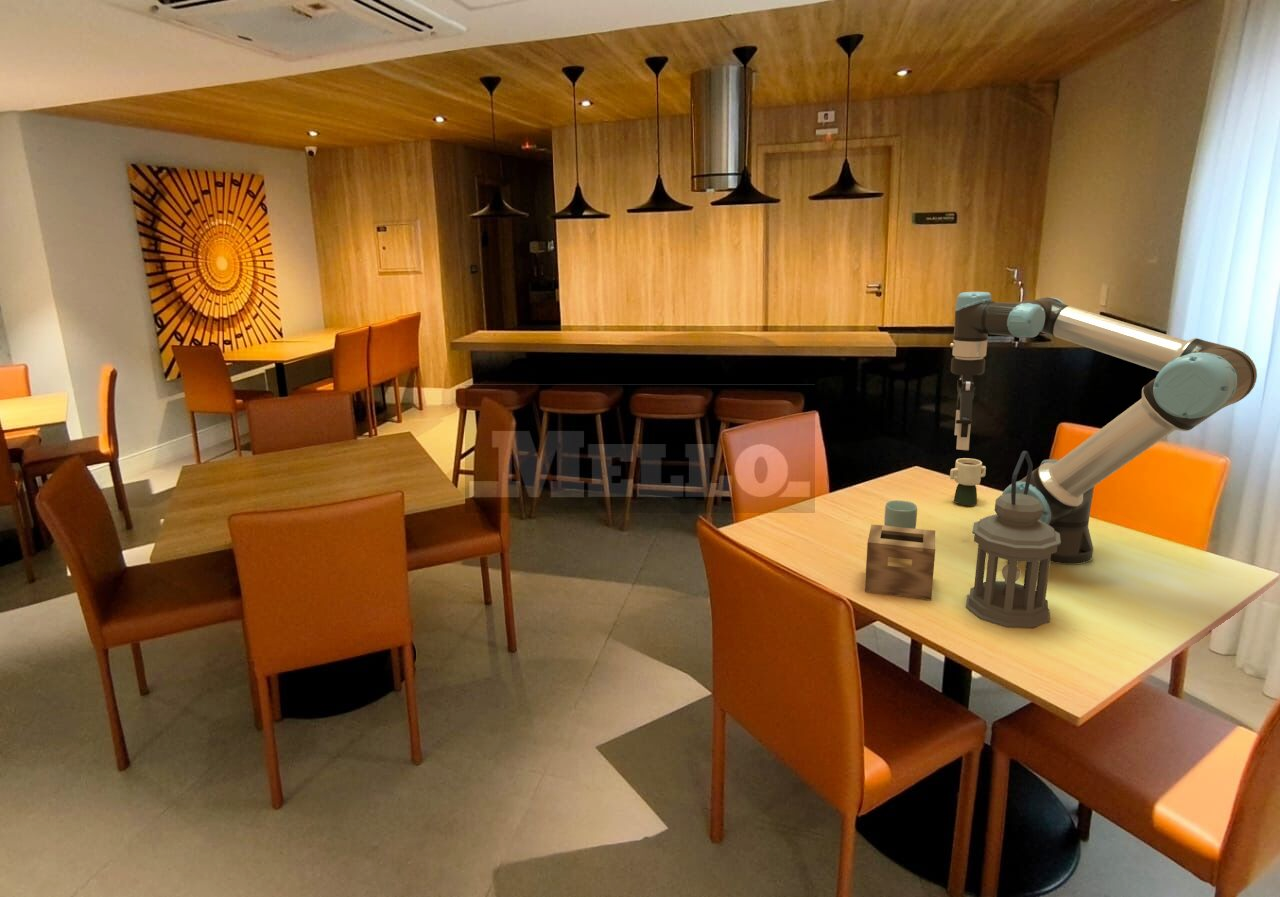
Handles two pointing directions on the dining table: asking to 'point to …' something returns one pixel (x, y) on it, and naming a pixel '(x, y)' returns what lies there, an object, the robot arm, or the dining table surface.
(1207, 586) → the dining table surface
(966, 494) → the character mug
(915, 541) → the coin box
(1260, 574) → the dining table surface
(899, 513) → the cup
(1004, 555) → the lantern
